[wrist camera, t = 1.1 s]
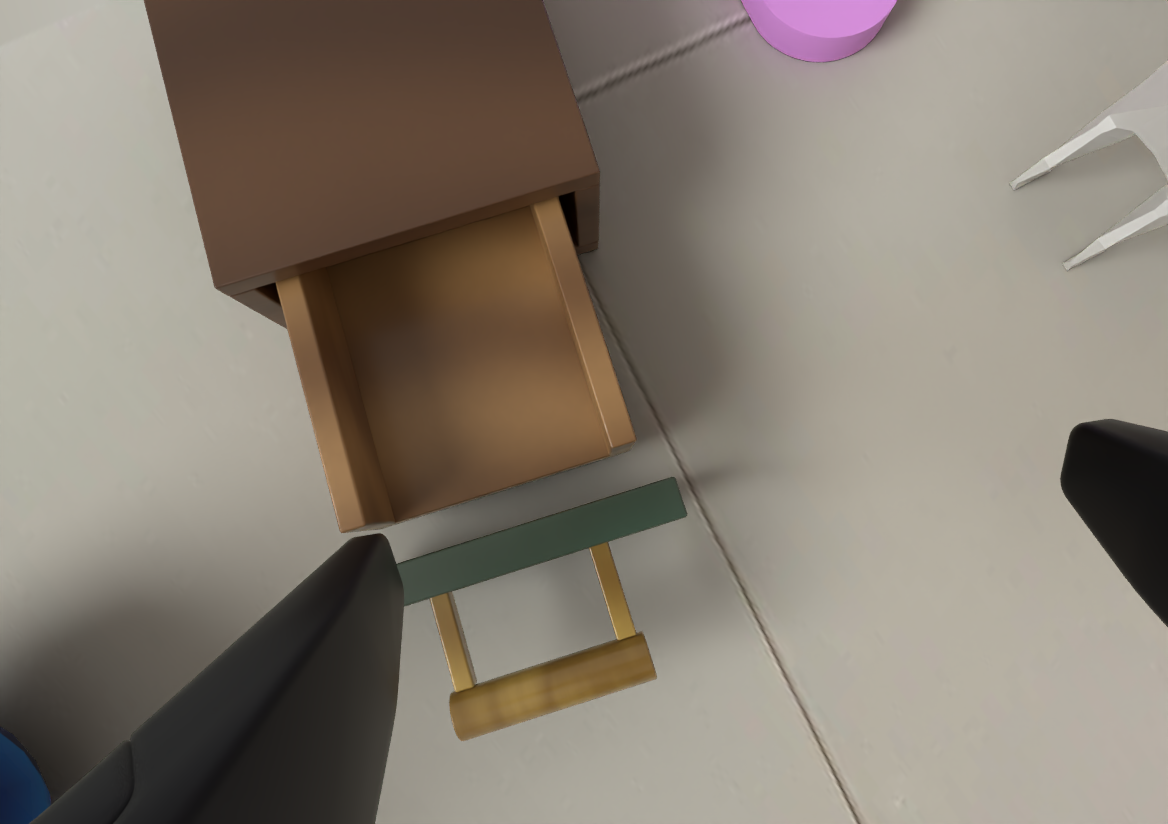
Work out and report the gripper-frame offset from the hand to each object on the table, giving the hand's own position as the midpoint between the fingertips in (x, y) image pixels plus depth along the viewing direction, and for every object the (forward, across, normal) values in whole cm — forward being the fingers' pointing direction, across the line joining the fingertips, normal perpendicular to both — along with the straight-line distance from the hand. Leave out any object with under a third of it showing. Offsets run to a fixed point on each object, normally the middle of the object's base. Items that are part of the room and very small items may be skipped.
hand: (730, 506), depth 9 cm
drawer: (+14, +5, +6) cm, 16 cm away
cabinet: (+22, +7, -4) cm, 23 cm away
